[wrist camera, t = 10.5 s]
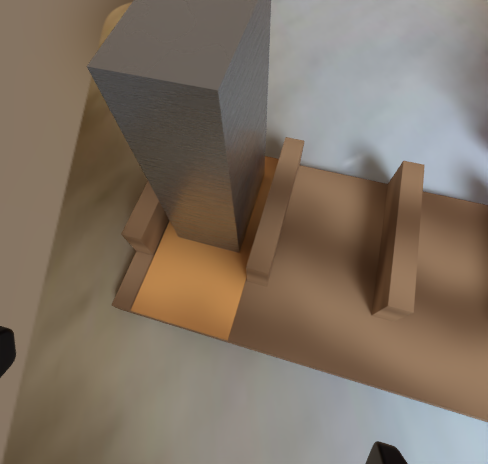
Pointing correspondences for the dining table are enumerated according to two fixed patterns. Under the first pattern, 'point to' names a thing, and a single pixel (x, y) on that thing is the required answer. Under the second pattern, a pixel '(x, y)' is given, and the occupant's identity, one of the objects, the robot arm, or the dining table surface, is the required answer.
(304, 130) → the dining table surface
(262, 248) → the rail rack
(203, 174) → the tall grey box
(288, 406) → the dining table surface
